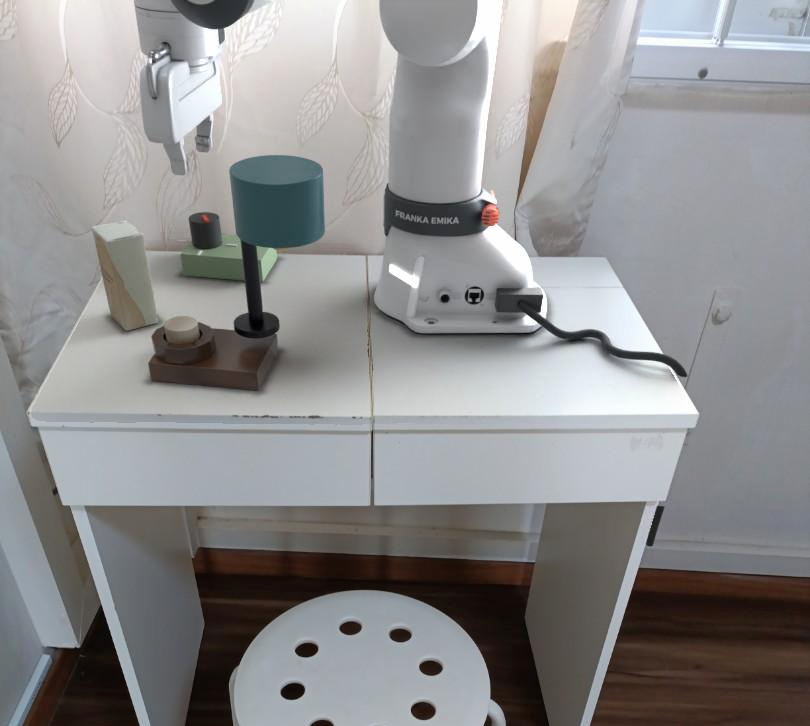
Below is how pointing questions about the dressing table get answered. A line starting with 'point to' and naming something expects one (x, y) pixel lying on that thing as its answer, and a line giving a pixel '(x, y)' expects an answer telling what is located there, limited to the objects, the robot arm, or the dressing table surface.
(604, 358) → the dressing table surface
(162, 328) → the lamp base
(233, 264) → the dimmer panel
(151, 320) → the box
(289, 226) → the lamp
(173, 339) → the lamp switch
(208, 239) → the dimmer knob
